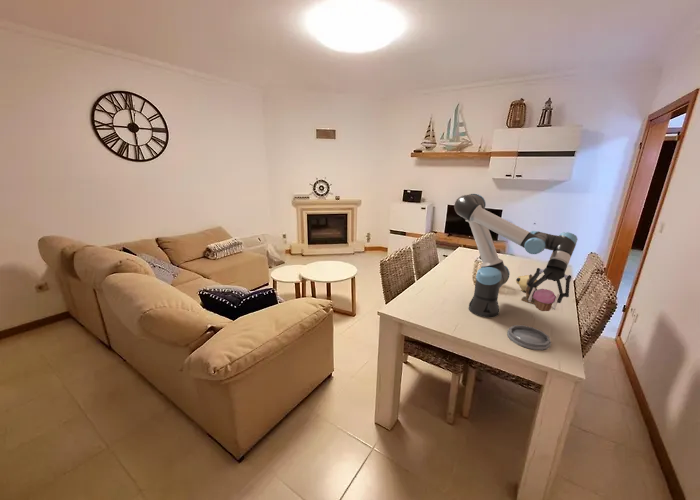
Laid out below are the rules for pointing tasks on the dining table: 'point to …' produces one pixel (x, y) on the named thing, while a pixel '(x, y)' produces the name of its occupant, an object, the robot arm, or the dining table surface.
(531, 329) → the slate plate
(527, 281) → the worn brown figurine
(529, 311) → the dining table surface
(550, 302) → the cupcake
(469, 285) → the dining table surface
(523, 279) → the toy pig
